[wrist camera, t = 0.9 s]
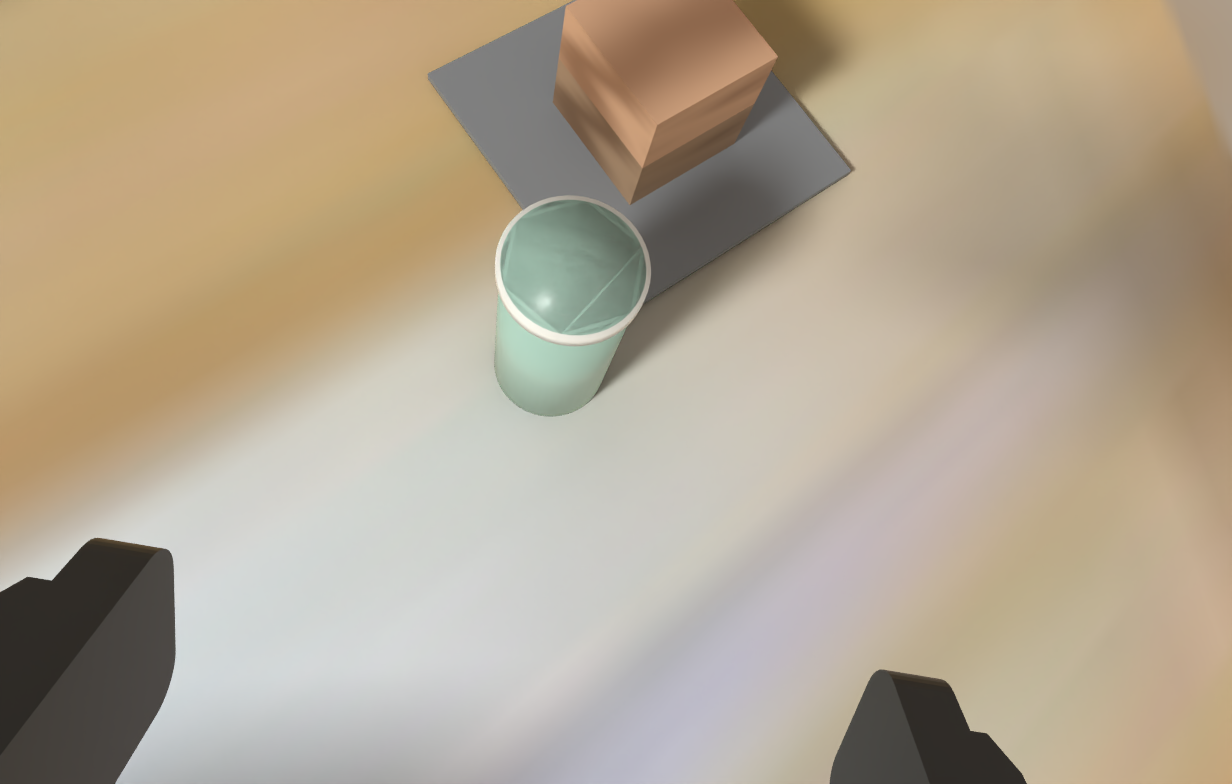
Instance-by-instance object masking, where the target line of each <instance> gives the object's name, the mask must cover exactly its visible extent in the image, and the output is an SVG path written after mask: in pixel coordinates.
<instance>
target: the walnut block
mask: <svg viewBox="0 0 1232 784" xmlns="http://www.w3.org/2000/svg"><path fill="white" fill-rule="evenodd" d="M553 103H554V105H555V106H556V107H557V109H558V110H559V111H560V113H561V114H562V115H563V117H564V118H565V119H566V121H567V122H568V123H569V125H570V126H571V127H572V129H573V130H574V131H575V133H576V134H577V135H578V137H579V138H580V139H581V141H582V142H583V143H584V145H585V146H586V147H587V149H588V150H589V151H590V153H591V154H592V156H593V157H594V158H595V160H596V161H597V162H598V164H599V165H600V166H601V168H602V169H603V170H604V172H605V173H606V174H607V176H608V177H609V178H610V180H611V181H612V182H613V184H614V185H615V186H616V188H617V189H618V190H619V192H620V193H621V194H622V196H623V197H624V198H625V200H626V201H627V202H628V204H629V205H631V204H633V203H635V202H636V201H638V200H640V199H641V198H643V197H645V196H647V195H648V194H650V193H652V192H653V191H655V190H657V189H658V188H660V187H662V186H663V185H665V184H667V183H669V182H670V181H672V180H674V179H675V178H677V177H679V176H680V175H682V174H684V173H686V172H687V171H689V170H691V169H692V168H694V167H696V166H697V165H699V164H701V163H702V162H704V161H706V160H708V159H709V158H711V157H713V156H714V155H716V154H718V153H719V152H721V151H723V150H725V149H726V148H728V147H730V146H731V145H733V144H734V143H735V141H736V139H737V137H738V135H739V133H740V131H741V129H742V127H743V125H744V123H745V121H746V119H747V117H748V115H749V113H750V111H751V109H752V107H753V106H754V104H753V105H751V106H750V107H748V108H746V109H744V110H743V111H741V112H739V113H737V114H736V115H734V116H732V117H731V118H729V119H727V120H725V121H724V122H722V123H720V124H718V125H717V126H715V127H713V128H712V129H710V130H708V131H706V132H705V133H703V134H701V135H699V136H698V137H696V138H694V139H693V140H691V141H689V142H687V143H686V144H684V145H682V146H680V147H679V148H677V149H675V150H674V151H672V152H670V153H668V154H667V155H665V156H663V157H661V158H660V159H658V160H656V161H654V162H653V163H651V164H649V165H648V166H646V167H644V168H642V167H641V166H640V165H639V163H638V162H637V161H636V159H635V158H634V157H633V155H632V154H631V153H630V151H629V150H628V149H627V148H626V146H625V145H624V144H623V142H622V141H621V140H620V138H619V137H618V136H617V134H616V133H615V132H614V130H613V129H612V128H611V126H610V125H609V124H608V122H607V121H606V120H605V118H604V117H603V116H602V114H601V113H600V112H599V111H598V109H597V108H596V107H595V105H594V104H593V103H592V101H591V100H590V99H589V97H588V96H587V95H586V93H585V92H584V91H583V89H582V88H581V87H580V85H579V84H578V83H577V81H576V80H575V79H574V77H573V76H572V75H571V74H570V72H569V71H568V70H567V68H566V67H565V66H564V64H563V63H562V62H561V60H560V59H559V60H558V67H557V74H556V82H555V89H554V96H553Z"/></svg>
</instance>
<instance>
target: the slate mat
mask: <svg viewBox="0 0 1232 784" xmlns="http://www.w3.org/2000/svg"><path fill="white" fill-rule="evenodd" d="M575 1H577V0H574V1H572V2H570V3H568V4H566V5H564V6H562V7H560V8H558V9H556V10H554V11H552V12H550V13H548V14H546V15H544V16H542V17H540V18H538V19H536V20H534V21H532V22H530V23H528V24H526V25H524V26H522V27H520V28H518V29H516V30H514V31H512V32H510V33H508V34H506V35H504V36H502V37H500V38H498V39H496V40H494V41H492V42H490V43H488V44H486V45H484V46H482V47H480V48H478V49H476V50H474V51H472V52H470V53H468V54H466V55H464V56H462V57H460V58H458V59H456V60H454V61H452V62H450V63H448V64H446V65H444V66H442V67H440V68H438V69H436V70H434V71H432V72H430V73H428V80H429V81H430V82H431V84H432V85H433V86H434V88H435V89H436V91H437V92H438V93H439V95H440V96H441V97H442V99H443V100H444V102H445V103H446V104H447V106H448V107H449V108H450V110H451V111H452V113H453V114H454V115H455V117H456V118H457V120H458V121H459V122H460V124H461V125H462V126H463V128H464V129H465V131H466V132H467V133H468V135H469V136H470V137H471V139H472V140H473V142H474V143H475V144H476V146H477V147H478V148H479V150H480V151H481V153H482V154H483V155H484V157H485V158H486V159H487V161H488V162H489V164H490V165H491V166H492V168H493V169H494V170H495V172H496V173H497V175H498V176H499V177H500V179H501V180H502V181H503V183H504V184H505V186H506V187H507V188H508V190H509V191H510V193H511V194H512V195H513V197H514V198H515V199H516V201H517V202H518V204H519V205H520V206H521V208H522V209H523V210H524V209H525V208H527V207H528V206H530V205H532V204H534V203H536V202H538V201H541V200H544V199H547V198H551V197H556V196H566V195H570V196H582V197H588V198H591V199H595V200H598V201H600V202H603V203H605V204H607V205H609V206H611V207H613V208H614V209H616V210H617V211H619V212H620V213H621V214H623V215H624V216H625V217H626V218H627V219H628V220H629V221H630V222H631V223H632V224H633V225H634V226H635V228H636V229H637V230H638V232H639V233H640V235H641V236H642V238H643V240H644V242H645V245H646V247H647V250H648V253H649V258H650V263H651V279H650V285H649V289H648V293H647V295H646V298H645V300H644V302H643V304H644V303H646V302H647V301H649V300H650V299H652V298H654V297H655V296H657V295H658V294H660V293H662V292H663V291H665V290H666V289H668V288H670V287H671V286H673V285H674V284H676V283H677V282H679V281H681V280H682V279H684V278H685V277H687V276H689V275H690V274H692V273H693V272H695V271H696V270H698V269H700V268H701V267H703V266H704V265H706V264H708V263H709V262H711V261H712V260H714V259H716V258H717V257H719V256H720V255H722V254H723V253H725V252H727V251H728V250H730V249H731V248H733V247H735V246H736V245H738V244H739V243H741V242H742V241H744V240H746V239H747V238H749V237H750V236H752V235H754V234H755V233H757V232H758V231H760V230H761V229H763V228H765V227H766V226H768V225H769V224H771V223H773V222H774V221H776V220H777V219H779V218H781V217H782V216H784V215H785V214H787V213H788V212H790V211H792V210H793V209H795V208H796V207H798V206H800V205H801V204H803V203H804V202H806V201H807V200H809V199H811V198H812V197H814V196H815V195H817V194H819V193H820V192H822V191H823V190H825V189H826V188H828V187H830V186H831V185H833V184H834V183H836V182H838V181H839V180H841V179H842V178H844V177H846V176H847V175H848V174H849V173H850V172H851V170H850V168H849V167H848V166H847V165H846V163H845V162H844V161H843V160H842V158H841V157H840V156H839V155H838V153H837V152H836V151H835V150H834V148H833V147H832V146H831V145H830V143H829V142H828V141H827V140H826V138H825V137H824V136H823V135H822V133H821V132H820V131H819V130H818V128H817V127H816V126H815V125H814V123H813V122H812V121H811V120H810V118H809V117H808V116H807V114H806V113H805V112H804V111H803V109H802V108H801V107H800V106H799V104H798V103H797V102H796V101H795V99H794V98H793V97H792V96H791V94H790V93H789V92H788V91H787V89H786V88H785V87H784V86H783V84H782V83H781V82H780V81H779V79H778V78H777V77H776V76H775V74H774V73H773V72H772V71H771V72H770V74H769V76H768V78H767V80H766V82H765V84H764V86H763V88H762V90H761V92H760V94H759V96H758V98H757V100H756V102H755V104H754V106H753V107H752V109H751V111H750V113H749V115H748V117H747V119H746V121H745V123H744V125H743V127H742V129H741V131H740V133H739V135H738V137H737V139H736V141H735V143H734V144H733V145H731V146H730V147H728V148H726V149H725V150H723V151H721V152H719V153H718V154H716V155H714V156H713V157H711V158H709V159H708V160H706V161H704V162H702V163H701V164H699V165H697V166H696V167H694V168H692V169H691V170H689V171H687V172H686V173H684V174H682V175H680V176H679V177H677V178H675V179H674V180H672V181H670V182H669V183H667V184H665V185H663V186H662V187H660V188H658V189H657V190H655V191H653V192H652V193H650V194H648V195H647V196H645V197H643V198H641V199H640V200H638V201H636V202H635V203H633V204H631V205H629V204H628V202H627V201H626V200H625V198H624V197H623V196H622V194H621V193H620V192H619V190H618V189H617V188H616V186H615V185H614V184H613V182H612V181H611V180H610V178H609V177H608V176H607V174H606V173H605V172H604V170H603V169H602V168H601V166H600V165H599V164H598V162H597V161H596V160H595V158H594V157H593V156H592V154H591V153H590V151H589V150H588V149H587V147H586V146H585V145H584V143H583V142H582V141H581V139H580V138H579V137H578V135H577V134H576V133H575V131H574V130H573V129H572V127H571V126H570V125H569V123H568V122H567V121H566V119H565V118H564V117H563V115H562V114H561V113H560V111H559V110H558V109H557V107H556V106H555V105H554V103H553V96H554V89H555V82H556V74H557V67H558V60H559V52H560V45H561V38H562V30H563V23H564V16H565V9H566V6H567V5H569V4H571V3H573V2H575ZM643 304H642V305H643Z"/></svg>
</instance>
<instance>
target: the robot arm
mask: <svg viewBox="0 0 1232 784" xmlns="http://www.w3.org/2000/svg"><path fill="white" fill-rule="evenodd" d="M174 663H175V607H174V566H173V558H172V555H171V553H170V552H169V550H167V549H163V548H157V547H151V546H145V545H139V544H133V543H127V542H120V541H114V540H108V539H102V538H94V539H91V540H90V541H88V542H87V543H86V544H85V545H83V546H82V547H81V549H80V550H79V551H78V552H77V553H76V554H75V555H74V556H73V558H72V559H71V560H70V561H69V562H68V563H67V564H66V565H65V566H64V568H63V569H62V570H61V571H60V572H59V573H58V574H57V575H56V577H55V578H54V579H53V580H52V581H50V580H44V579H38V578H32V577H26V578H25V579H23V580H21V581H19V582H18V583H16V584H14V585H12V586H11V587H9V588H7V589H5V590H3V591H2V592H0V784H115V782H116V781H117V779H118V777H119V776H120V774H121V772H122V771H123V769H124V768H125V766H126V764H127V763H128V761H129V759H130V758H131V756H132V754H133V753H134V751H135V749H136V748H137V746H138V744H139V743H140V741H141V739H142V738H143V736H144V734H145V733H146V731H147V729H148V728H149V726H150V724H151V723H152V721H153V720H154V718H155V716H156V715H157V713H158V711H159V709H160V707H161V705H162V703H163V701H164V698H165V696H166V693H167V691H168V688H169V685H170V681H171V678H172V673H173V669H174ZM830 784H1027V783H1026V781H1025V779H1024V777H1023V775H1022V773H1021V772H1020V771H1019V770H1018V769H1017V768H1016V766H1015V765H1014V764H1013V763H1012V762H1011V761H1010V760H1009V758H1008V757H1007V756H1006V755H1005V754H1004V753H1003V751H1002V750H1001V749H1000V748H999V747H998V746H997V744H996V743H995V742H994V741H993V740H992V739H991V738H990V736H989V735H988V734H986V733H980V732H974V731H970V729H969V727H968V724H967V722H966V720H965V717H964V715H963V713H962V710H961V708H960V706H959V703H958V701H957V699H956V696H955V694H954V692H953V690H952V688H951V687H950V685H949V684H948V683H947V682H946V681H944V680H942V679H936V678H930V677H924V676H918V675H912V674H906V673H900V672H894V671H888V670H878V671H876V672H875V673H874V674H873V675H872V677H871V678H870V680H869V682H868V684H867V686H866V689H865V691H864V693H863V696H862V698H861V700H860V702H859V705H858V707H857V709H856V711H855V714H854V716H853V718H852V721H851V723H850V725H849V727H848V730H847V732H846V734H845V736H844V739H843V741H842V743H841V745H840V748H839V750H838V752H837V755H836V757H835V760H834V763H833V766H832V771H831V777H830Z"/></svg>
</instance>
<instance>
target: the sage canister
mask: <svg viewBox="0 0 1232 784" xmlns="http://www.w3.org/2000/svg"><path fill="white" fill-rule="evenodd" d="M650 279H651V263H650V258H649V253H648V250H647V247H646V245H645V242H644V240H643V238H642V236H641V235H640V233H639V232H638V230H637V229H636V228H635V226H634V225H633V224H632V223H631V222H630V221H629V220H628V219H627V218H626V217H625V216H624V215H623V214H621V213H620V212H619V211H617V210H616V209H614V208H613V207H611V206H609V205H607V204H605V203H603V202H600V201H598V200H595V199H591V198H588V197H582V196H570V195H566V196H556V197H551V198H547V199H544V200H541V201H538V202H536V203H534V204H532V205H530V206H528V207H527V208H525V209H524V210H522V211H521V212H520V213H519V214H518V215H516V216H515V217H514V218H513V220H512V221H511V222H510V223H509V224H508V226H507V227H506V229H505V230H504V232H503V234H502V236H501V238H500V240H499V244H498V247H497V251H496V258H495V280H496V287H497V290H498V306H497V324H496V341H495V359H494V366H495V373H496V377H497V380H498V382H499V385H500V387H501V388H502V390H503V392H504V393H505V394H506V396H507V397H508V398H509V399H510V400H511V401H512V402H513V403H514V404H516V405H517V406H518V407H520V408H522V409H524V410H525V411H528V412H530V413H533V414H536V415H541V416H561V415H565V414H569V413H571V412H574V411H576V410H578V409H579V408H581V407H583V406H584V405H585V404H587V403H588V402H589V401H590V400H591V399H592V397H593V396H594V395H595V394H596V392H597V390H598V389H599V387H600V385H601V382H602V380H603V378H604V376H605V374H606V372H607V369H608V367H609V365H610V363H611V361H612V358H613V356H614V354H615V352H616V350H617V348H618V345H619V343H620V341H621V339H622V337H623V334H624V332H625V330H626V328H627V326H628V325H629V324H630V323H631V322H632V320H633V319H634V318H635V317H636V315H637V314H638V312H639V310H640V308H641V307H642V304H643V302H644V300H645V298H646V295H647V293H648V289H649V285H650Z"/></svg>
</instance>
